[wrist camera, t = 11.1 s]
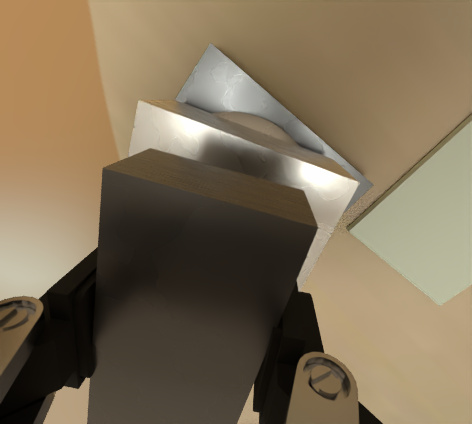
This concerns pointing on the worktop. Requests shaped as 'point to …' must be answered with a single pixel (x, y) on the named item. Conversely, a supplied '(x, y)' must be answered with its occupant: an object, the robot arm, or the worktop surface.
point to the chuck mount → (253, 106)
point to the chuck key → (189, 287)
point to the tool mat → (428, 220)
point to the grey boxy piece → (248, 157)
